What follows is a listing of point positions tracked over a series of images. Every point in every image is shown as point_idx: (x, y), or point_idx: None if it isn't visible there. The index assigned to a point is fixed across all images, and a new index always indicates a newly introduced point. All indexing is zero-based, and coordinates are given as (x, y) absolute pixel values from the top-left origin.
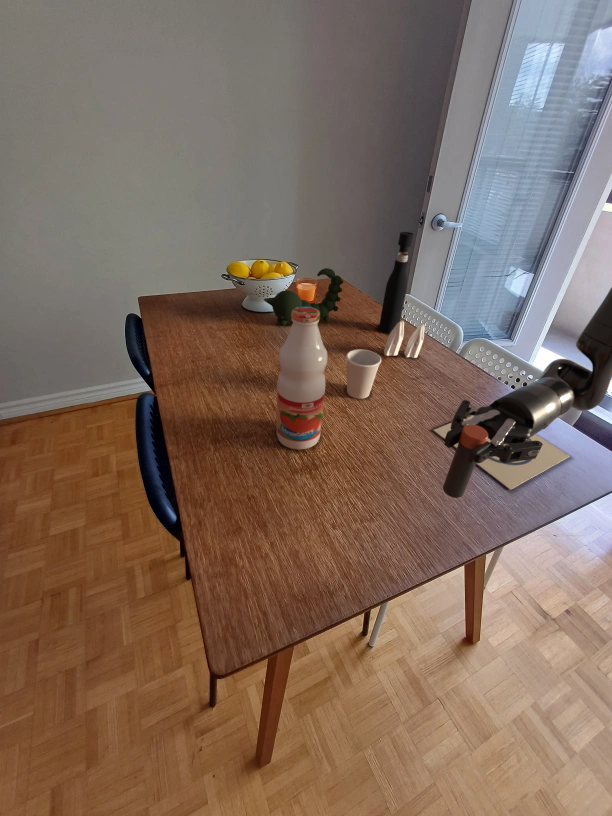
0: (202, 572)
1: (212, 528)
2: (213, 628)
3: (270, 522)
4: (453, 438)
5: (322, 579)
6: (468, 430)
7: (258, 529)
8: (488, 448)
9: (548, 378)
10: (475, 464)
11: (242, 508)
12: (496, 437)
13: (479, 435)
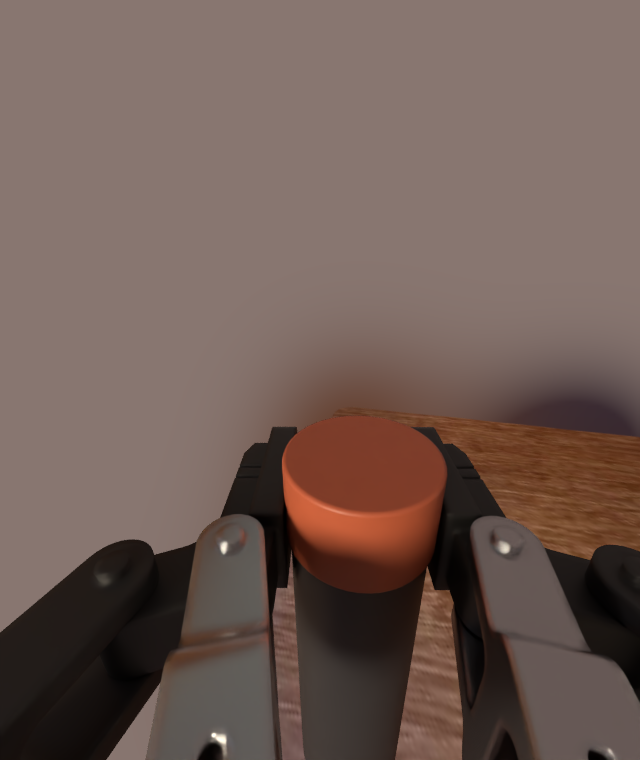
0: (428, 417)
1: (486, 434)
2: (370, 410)
3: (481, 476)
4: None
5: None
6: (390, 434)
7: (472, 463)
8: (248, 498)
9: None
10: (297, 636)
11: (517, 462)
12: (246, 598)
13: (322, 444)
